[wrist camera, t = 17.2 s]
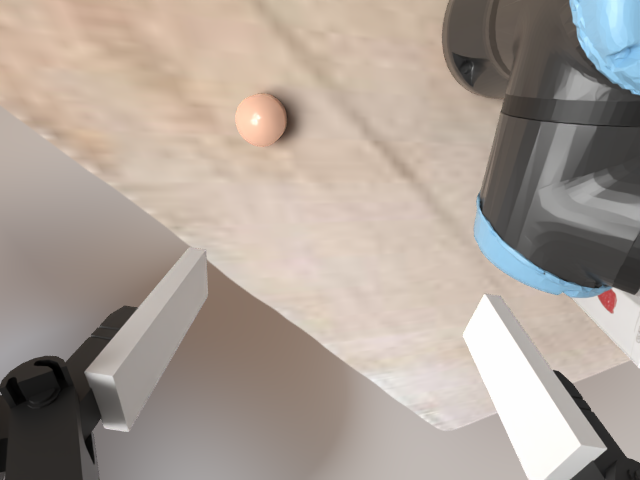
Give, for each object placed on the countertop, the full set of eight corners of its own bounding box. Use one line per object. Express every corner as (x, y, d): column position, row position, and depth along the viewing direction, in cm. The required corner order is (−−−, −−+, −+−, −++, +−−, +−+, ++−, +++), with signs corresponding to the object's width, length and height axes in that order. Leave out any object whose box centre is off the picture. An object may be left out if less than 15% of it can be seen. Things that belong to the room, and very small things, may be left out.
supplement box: (567, 247, 47) (653, 317, 34) (636, 235, 45) (754, 303, 32) (563, 293, 51) (638, 371, 38) (625, 283, 49) (726, 361, 36)
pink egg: (287, 95, 39) (283, 97, 37) (287, 143, 42) (283, 148, 39) (241, 91, 39) (233, 93, 37) (243, 139, 42) (237, 144, 40)
